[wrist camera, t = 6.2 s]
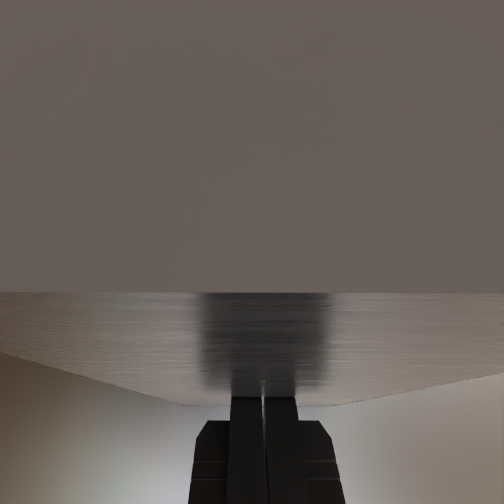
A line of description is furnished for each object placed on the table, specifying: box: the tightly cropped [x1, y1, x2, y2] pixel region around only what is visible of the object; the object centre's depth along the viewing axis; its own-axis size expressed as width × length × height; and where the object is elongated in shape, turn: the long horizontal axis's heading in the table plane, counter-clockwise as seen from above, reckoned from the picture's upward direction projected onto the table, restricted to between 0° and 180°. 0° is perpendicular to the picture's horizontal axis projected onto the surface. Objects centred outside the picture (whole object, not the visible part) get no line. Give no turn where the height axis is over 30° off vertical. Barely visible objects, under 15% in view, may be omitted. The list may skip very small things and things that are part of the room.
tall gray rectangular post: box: [0, 0, 504, 406], centre depth 11 cm, size 15×8×14 cm, turn 0°
